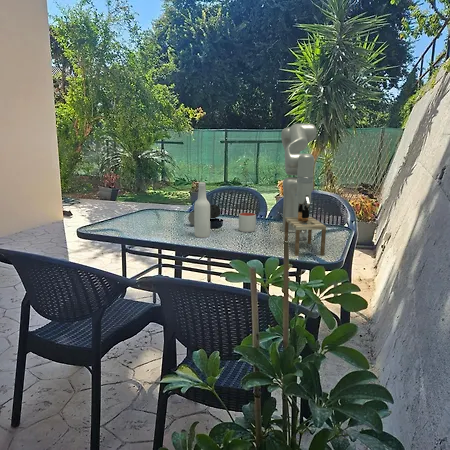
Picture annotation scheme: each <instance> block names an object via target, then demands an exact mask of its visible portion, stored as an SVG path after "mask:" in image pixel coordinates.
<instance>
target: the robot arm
mask: <svg viewBox="0 0 450 450" xmlns="http://www.w3.org/2000/svg"><path fill="white" fill-rule="evenodd" d="M317 133H318V132H317V127H316V126H315V124H313V123H294V124H292V125H291V126H290V127H285V128H283V129H282V130H281V134H280V135H281V139H280V140H281V143H282V147H283V149H284V170H285V171H284V172H285V174H286V175H288V177H286V178H284V179H283V181H282V191H283V207H282V226H281V227H279V231H280V232H283V233H285V217H298V212H301V211H302V218H309V217H310V215H309V214H310V205H311V203H312V192H313V191H314V166H315V157H314V155H313V154H312V153H301V152H302V151H305V150H306V148H307V146H308V144H309V143H311V142H312V141H315V139H316V137H317ZM289 176H293V177H289ZM288 233H292V234H293V233H295V234H296V229H295V228H294V227H293V226H291V225H290V224H289V225H288Z"/></svg>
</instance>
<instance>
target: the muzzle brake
mask: <svg viewBox="0 0 450 450" xmlns="http://www.w3.org/2000/svg"><path fill="white" fill-rule="evenodd" d="M221 213H222V212H221V208H220V206H218V204H210V219H211V218H215V219H217V218H218V217H219V216H221ZM187 218H188V222H189V224H191V225H192V226H194V209H193V210H191V211H190V212H189V214H188V215H187Z"/></svg>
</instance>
